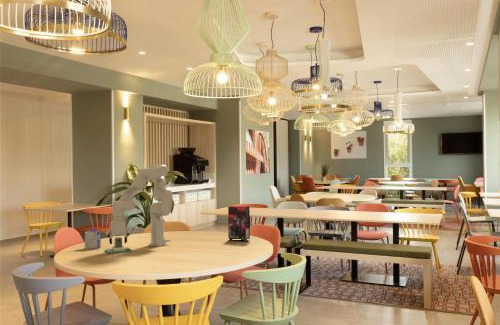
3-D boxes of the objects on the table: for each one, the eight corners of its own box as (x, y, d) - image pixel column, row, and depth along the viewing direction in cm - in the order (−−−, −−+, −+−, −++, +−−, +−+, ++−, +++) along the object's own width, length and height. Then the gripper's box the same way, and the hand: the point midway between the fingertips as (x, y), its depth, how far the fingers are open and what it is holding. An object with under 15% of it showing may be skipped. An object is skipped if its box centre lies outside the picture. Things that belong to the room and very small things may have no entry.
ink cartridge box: (101, 247, 325) (101, 227, 325) (97, 249, 320) (97, 228, 320) (88, 247, 327) (88, 227, 327) (84, 248, 322) (84, 228, 322)
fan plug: (120, 248, 313) (120, 237, 313) (122, 250, 305) (122, 238, 305) (114, 249, 312) (114, 237, 312) (116, 251, 303) (116, 239, 304)
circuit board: (128, 249, 319) (128, 244, 319) (131, 251, 307) (131, 247, 307) (104, 250, 312) (104, 246, 312) (107, 253, 300) (107, 249, 300)
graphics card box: (227, 240, 357) (227, 206, 358) (232, 239, 363) (232, 205, 364) (245, 242, 348) (245, 206, 349) (250, 240, 354) (250, 206, 355)
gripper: (129, 217, 317) (129, 241, 317) (104, 218, 310) (104, 243, 309) (132, 218, 311) (132, 243, 310) (106, 219, 303) (106, 245, 303)
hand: (118, 243), depth 310 cm, fingers open, 9 cm apart
